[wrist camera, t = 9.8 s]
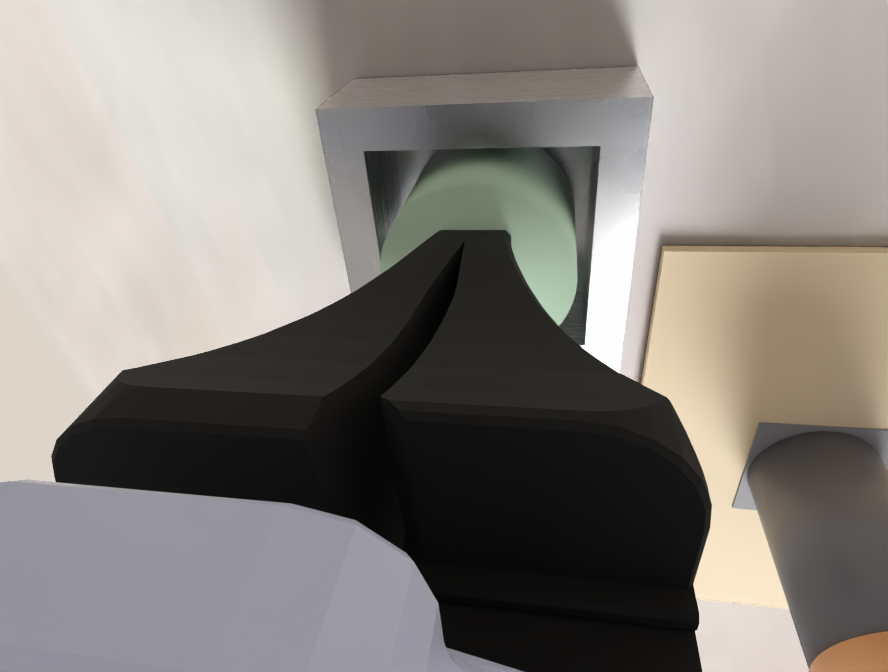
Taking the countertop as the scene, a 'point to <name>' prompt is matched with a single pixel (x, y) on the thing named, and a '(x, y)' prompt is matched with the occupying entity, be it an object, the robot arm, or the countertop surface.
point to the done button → (498, 214)
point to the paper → (765, 376)
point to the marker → (829, 544)
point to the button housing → (500, 126)
